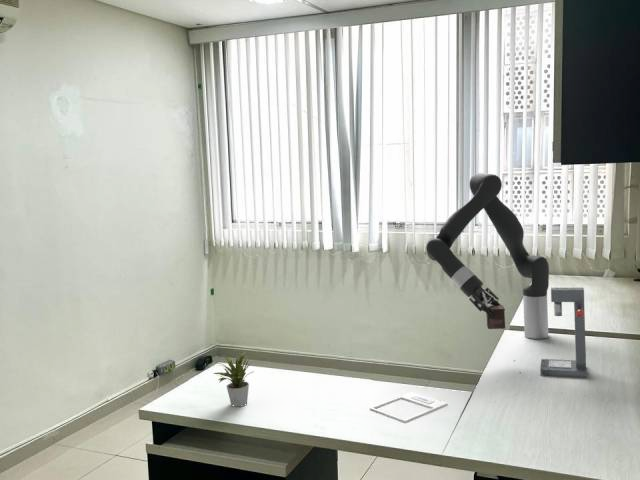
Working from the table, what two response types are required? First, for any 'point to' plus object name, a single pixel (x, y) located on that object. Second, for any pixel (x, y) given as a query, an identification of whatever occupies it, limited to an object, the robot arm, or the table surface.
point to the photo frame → (413, 398)
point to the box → (496, 318)
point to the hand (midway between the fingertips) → (499, 314)
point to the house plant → (236, 381)
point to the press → (579, 365)
